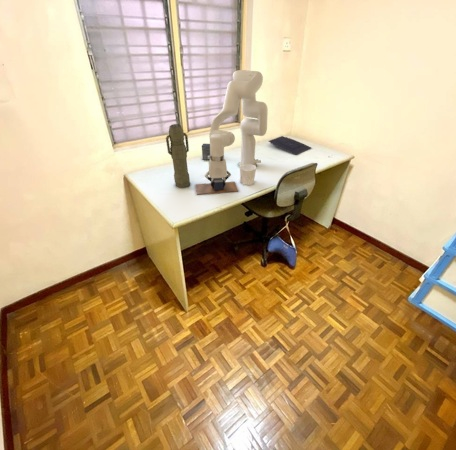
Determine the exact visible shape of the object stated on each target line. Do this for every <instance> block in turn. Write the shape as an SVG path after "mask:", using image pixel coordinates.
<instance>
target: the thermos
mask: <svg viewBox="0 0 456 450" xmlns="http://www.w3.org/2000/svg"><path fill="white" fill-rule="evenodd" d="M165 141H166V148H167V153H168V155H170V157H171V160H172V165H173V171H174V172H173V178H174V179H173V180H174V183H175V187H176V188H178V189H186V188H188V187H189V186H191V180H190V179H191V178H190V173H189V169H188V161H187V158H188V152H190V147H189V137H188V135H187V133H185V132H184V130H183V127H182V125H181V124H178V123H173V124H171V125H169V127H168V134H167V135H166V137H165Z"/></svg>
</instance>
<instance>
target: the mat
mask: <svg viewBox="0 0 456 450" xmlns="http://www.w3.org/2000/svg"><path fill="white" fill-rule="evenodd" d="M195 189H196V195H197V196H198V195H199V196H201V195H211V194H212V195H214V194H224V193H225V194H226V193H239V189H238V187H237V184H236V182H235V181H225V186H224V187H223V190H220V191H215V189H214V188H212V186H211V182H210V183H198V184H197V183H196V184H195Z"/></svg>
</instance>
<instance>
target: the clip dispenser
mask: <svg viewBox="0 0 456 450" xmlns="http://www.w3.org/2000/svg"><path fill="white" fill-rule="evenodd" d="M213 182H214V189H215V191H220V190H223V178H214V179H213Z"/></svg>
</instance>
